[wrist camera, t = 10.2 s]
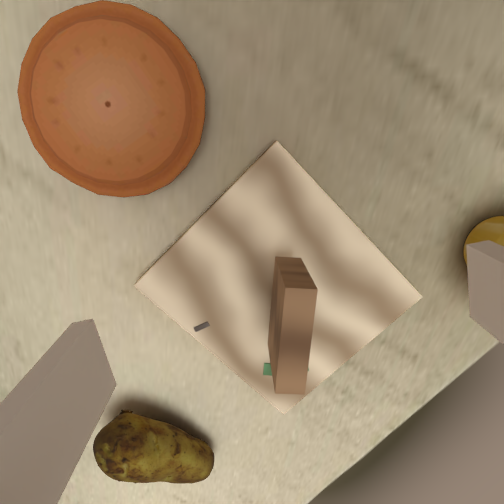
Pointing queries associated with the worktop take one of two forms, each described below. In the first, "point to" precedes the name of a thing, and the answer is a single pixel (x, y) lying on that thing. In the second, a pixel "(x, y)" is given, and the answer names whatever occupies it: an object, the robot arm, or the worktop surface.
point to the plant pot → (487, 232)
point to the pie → (112, 99)
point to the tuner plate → (262, 272)
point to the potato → (150, 451)
